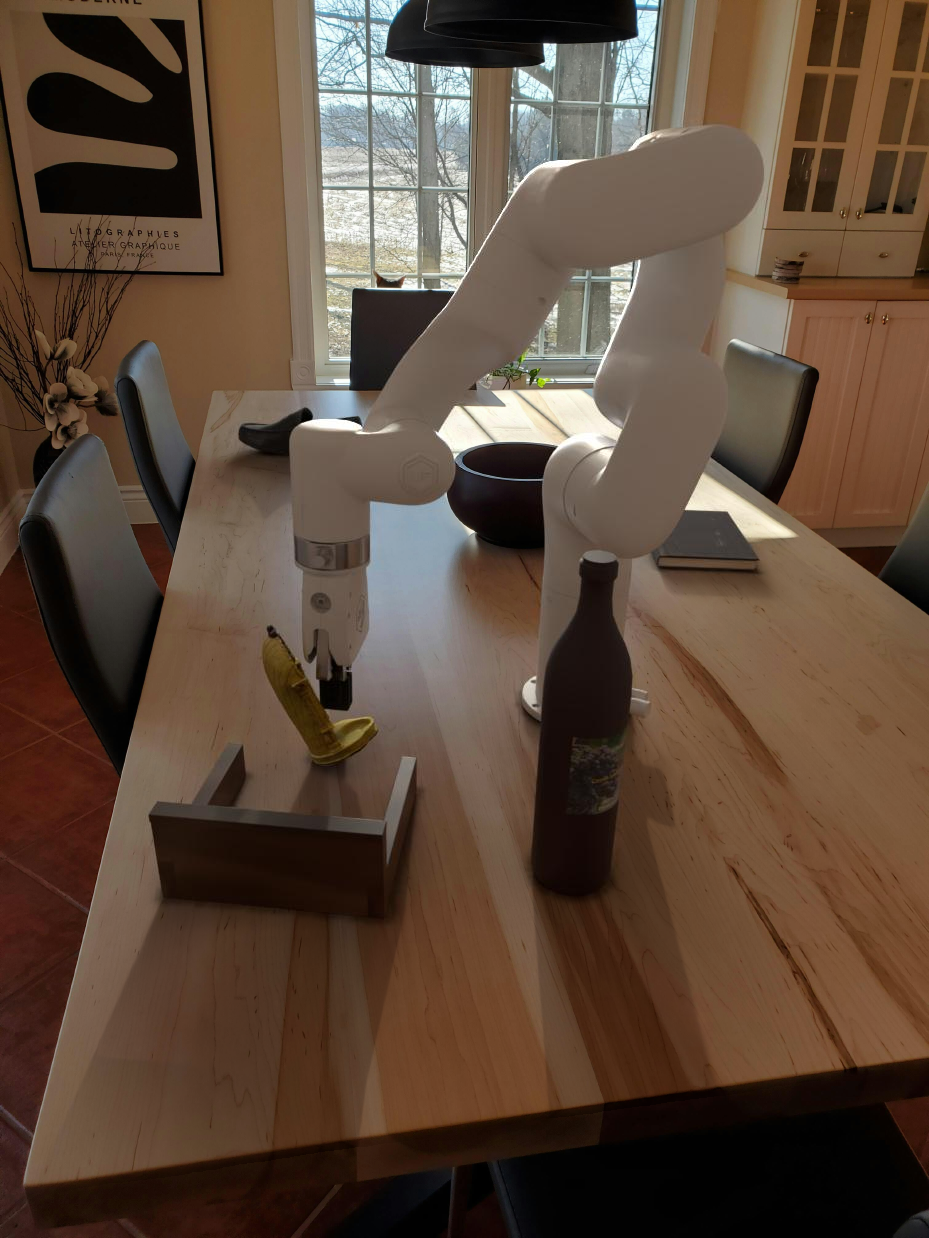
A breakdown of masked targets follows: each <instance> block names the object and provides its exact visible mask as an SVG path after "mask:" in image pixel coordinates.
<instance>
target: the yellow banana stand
mask: <svg viewBox="0 0 929 1238" xmlns="http://www.w3.org/2000/svg"><path fill="white" fill-rule="evenodd" d="M266 632H267V636H266V637H265V639H264V640H263V643H262V649H261V654H262V655H261V659H262V664H263V668H264V669H263V670H264V673H265V675H266V678H267V681H268V682H269V684H270V686H271V688H272V690H273V692H274V694H275V696H276V698H277V700H278V701H279V703H280V705H281V707H282V708H283V710H284V711H285V713H286V714H287V716H288V718H289V719H290V721H291V722H292V724H293V725H294V727H295V728H296V730H297V731H298V733H299V735H300V736H301V739H302V740H303V743H305V744H306V747H307V748H308V754H309V756H310V757H311V760H312V762H314V763H315V764H316V765H317V766H320V767H325V768H326V767H328V766H332V765H336V764H339V763H342V762H343V761H345V760H346V759H349V758H351V757H353V756H355V755H356V754H358V753H359V752H361V751H362V750H363V749H365V747H366V746H367V745H368V744H369V743H370V741H372V740H373V739H374V737H376V736H377V735H378V732H379V726H378V725H376V724H375V721H376V719H375V718H374V717H373V716H364V717H356V718H345V719H343V720H340V721H338V722H336V723H333V722H332V721H331V719H330V715H329V714H328V713H327V711H326V709H324V708H323V707H322V705H321V703H320V698H319V697H318V695H317V693H316V692H315V689H314V687H313V685H312V684H311V682H310V680H309V678H308V677H307V675H306V674H305V669H303V666H302V663H301V660H300V657H296V656H295V655H294V654H293V653H292V651H291V649H290V648H289V646H288V644H287V642H286V640H284V639H283V638H282V637H283V636H281V634H280V633H278V632H277V629H276V627H274V625H272V624H270V625H267V626H266Z"/></svg>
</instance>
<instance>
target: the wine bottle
mask: <svg viewBox="0 0 929 1238" xmlns="http://www.w3.org/2000/svg"><path fill="white" fill-rule="evenodd" d="M616 559H617V557H616V556H615V555H614V554H612V553H610V552H607V551H600V550H594V551H588V552H586V553H584V554H583V558H581V559H580V565H579V575H580V577H581V586H580V596H579V600H578V604H577V609H576V612H575V614H574V615H573V617H572V619H571V620H570V622H569V624H568V625H567V626H566V628H565V629H564V631H563V632H562V633H561V635H560V636H559V637H558V639H557V641H556V643H555V644H554V646H553V648H552V650H551V652H550V655H549V658H548V661H547V664H546V668H545V675H544V683H543V695H542V709H541V721H540V723H539V725H540V726H539V737H538V741H539V742H538V753H537V767H536V778H535V779H536V780H535V795H534V808H533V809H534V810H533V812H534V813H533V821H532V822H533V823H532V836H531V837H532V838H531V851H530V865H531V869H532V873H533V875H534V877H535V878H536V879H537V880H538V882H539V883H541V884H542V885H543V886H544V887H546V888H547V889H549V890H551V891H554V892H556V893H560V894H564V895H574V896H576V895H577V896H578V895H587V894H590V893H592V892H595V891H597V890H599V889H600V888H601V887H602V886H604V885H605V883H606V882H607V880H608V878H609V876H610V873H611V867H612V860H613V853H614V843H615V834H616V827H617V819H618V810H619V802H620V793H621V786H622V777H623V770H624V761H625V752H626V746H627V745H626V743H627V736H628V728H629V720H630V713H629V712H630V704H631V696H632V688H633V677H634V675H633V668H632V659H631V656H630V652H629V650H628V646H627V644H626V641H625V640H624V638H622V636H621V634H620V631H619V629H618V627H617V624H616V621H615V618H614V616H613V600H612V597H613V588H614V580H615V579H616V578H617V576H618V567H619V563H618V561H617V560H616Z"/></svg>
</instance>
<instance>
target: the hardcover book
mask: <svg viewBox="0 0 929 1238" xmlns="http://www.w3.org/2000/svg"><path fill="white" fill-rule="evenodd" d="M651 554H652V556H653V559H654V562H655V563H656V566H657V567H658V569H660V570H663V569H664V570H682V571H683V570H685V571H686V570H687V571H713V572H714V571H715V572H737V573H739V572H741V573H758V569H757V566H756V565H757V562H760V561H761V560H760V558H759V556H758V554H756V552H755V550H754V548H753V547H752V546H751V545H750V543H749V541H748V540H747V539H746V537H745V535H744V533H742V531H741V530H740V528H739V527H738V525H737V524H736V522H735V521H734V519H733V518H732V516H731V515H730V513H729V511H727V510H722V511H721V510H701V509H700V510H698V509H685V510H684V512H683V514H682V516H681V518H680V520H679V522H678V523H677V525H676V527H675V528H674V530H673V531H672V533H671V534H670V535H669V537H668V538H667V539H666V540H665V541H664V542H663V543H662V544H661V545H660V546H659V547H658V548H656V549H655V550H654V551H652V552H651Z"/></svg>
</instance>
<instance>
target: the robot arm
mask: <svg viewBox="0 0 929 1238" xmlns="http://www.w3.org/2000/svg"><path fill="white" fill-rule="evenodd" d="M764 181H765V165H764V158H763V156H762V153H761V151H760V148H759V147H758V145H757V143H756V142H755V141H754V140H753V139H752V138H751V137H750V136H749V135H748V134H747V133H746V132H744V131H743V130H741V129H739V128H738V127H735V126H731V125H729V124H715V123H714V124H705V125H694V126H680V127H679V126H678V127H670V128H664V129H660V130H659V129H658V130H655V131H652V132H649V133H647V134H646V135H643V136H642V137H640V138H639V139H637V140H636V141H635V142H634V143H633V145H632V146H631V147H630V148H629V149H628V150H627V151H623V152H619V153H613V154H609V155H604V156H600V157H599V156H598V157H594V158H589V159H588V158H584V159H563V160H553V161H548V162H545V163H542V164H540V165H538V166H536V167H535V168H533V169H532V170H530V171H529V172H528V173H527V175H525V177H524V178H523V179H522V180H521V181H520V182H519V184H518V186H516V188H515V190H514V192H513V193H512V195H511V197H510V198H509V200H508V201H507V203H506V205H505V207H504V208H503V210H502V212H501V214H500V215H499V217H498V218H497V220H496V222H495V223H494V225H493V227H492V229H491V230H490V232H489V234H488V235H487V237H486V239H485V241H484V242H483V244H482V246H481V247H480V249H479V250H478V252H477V254H476V256H475V258H474V260H473V261H472V263H471V264H470V266H469V268H468V269H467V271H466V273H465V274H464V276H463V277H462V279H461V281H460V283H459V284H458V286H457V288H456V289H455V291H454V293H453V295H452V296H451V298H450V299H449V300H448V302H447V304H446V305H445V306H444V308H443V309H442V310H441V311H440V312H439V313H438V314H437V315H436V317H434V319H433V320H431V322H430V324H429V325H428V326H427V327H426V329H425V330H424V331H423V333H422V334H421V335H420V336H419V337H418V338H417V339H416V340H415V342H414V343H413V344H412V345H411V346H410V348H409V349H408V350H407V351H406V353H404V355H403V356H402V358H401V359H400V361H399V362H398V364H397V365H396V367H394V370H393V372H392V373H391V375H390V376H389V378H388V379H387V381H386V383H385V385H384V386H383V388H382V390H381V391H380V393H379V396H377V399H376V400H375V402H374V404H373V405H372V407H371V409H370V410H369V412H368V414H367V416H366V419H365V420H364V423H363V425H362V427H361V426H360V425H358V424H356V423H353V422H350V421H345V420H336V419H337V418H321V419H312V420H311V421H308V422H304V423H301V424H299V425H298V426H296V427H295V428H294V429H293V431H292V433H291V436H290V440H289V451H290V455H289V467H290V468H289V469H290V471H289V472H290V490H291V491H290V493H291V513H292V516H291V517H292V532H293V535H292V536H293V554H294V555H293V556H294V558H293V560H294V561H293V562H294V565H295V566H296V568H298V569H299V570H300V571H302V581H301V583H302V587H301V640H302V641H301V642H302V653H303V657H304V660H305V661H306V663H308V664H312V663H313V662H314V661H316V663H315V680H317V681H318V688H319V689H318V690H319V701H320V703H321V705H322V707H323V708H324V709H325V710H330V711H341V712H348V711H350V708H351V705H352V704H353V701H354V699H353V671H351V670H352V666H353V663H354V662H355V660H356V658H357V657H358V654H359V653H360V650H361V649H362V647H363V645H364V643H365V641H366V638H367V636H368V633H369V630H370V605H369V589H368V574H367V573H368V572H367V567H369V566H370V564H371V502H373V503H383V504H390V505H398V506H411V507H412V506H415V507H416V506H417V507H418V506H422V505H423V506H424V505H428V504H431V503H433V502H436V501H437V500H439V499H441V498H442V497H443V496H444V495H446V493H448V491H449V490H450V488H451V487H452V486H453V485H452V484H453V483H454V480H455V477H456V458H455V456H454V452H452V451H453V450H452V449H451V447H450V446H449V444H448V443H447V441H446V440H445V439H444V438H443V437H442V435H440V434H439V432H440V430H441V429H442V427H443V425H444V424H445V422H446V420H447V419H448V418H449V416H450V415H451V412H452V411H453V410H454V408H455V406H456V405H457V404H458V402H459V401H460V400H461V398H462V397H463V396H464V395H465V394H466V393H467V391H469V389H471V388H472V387H473V386H474V385H475V384H476V383H477V382H479V380H481V379H482V378H484V377H485V376H487V375H489V374H491V373H493V372H496V371H498V370H500V369H502V368H505V367H506V366H509V365H510V364H512V363H514V362H515V361H517V360H518V359H520V358H521V357H522V356H523V355H525V353H526V352H527V351H528V350H529V348H530V346H531V345H532V344H533V342H534V340H535V338H536V337H537V335H538V333H539V332H540V330H541V328H542V327H543V325H544V323H545V322H546V321H547V318H548V316H549V315H550V314H551V312H552V311H553V310H554V308H555V305H556V304H557V303H558V301H559V299H560V298H561V296H562V295H563V293H564V291H565V290H566V288H567V287H568V285H569V284H570V282H571V281H572V279H573V278H574V276H575V274H576V273H577V271H578V270H579V271H599V270H600V271H601V270H604V269H610V268H614V267H619V266H623V265H626V264H631V263H634V262H638V265H637V270H636V275H635V278H634V282H633V285H632V288H631V291H630V293H629V295H628V299H627V301H626V304H625V306H624V309H623V311H622V312H621V315H620V318H619V321H618V323H617V324H616V328H615V330H614V332H613V334H612V337H611V339H610V341H609V344H608V346H607V348H606V351H605V352H604V355H603V357H602V359H601V361H600V364H599V366H598V369H597V372H596V375H595V378H594V380H593V386H592V387H593V388H592V396H593V400H594V405H595V406H596V408H597V410H598V412H599V413H600V414H601V416H603V418H605V419H606V420H607V421H609V422H610V423H611V424H613V425H614V426H616V427H617V428H618V429H620V433H619V436H618V438H617V440H616V439H614V438H613V437H610V436H607V435H604V434H599V433H589V432H588V433H581V434H578V435H574V436H571V437H569V438H568V439H566V440H564V441H563V442H562V443H561V444H559V445H558V446H557V447H556V448H555V450H553V452H552V454H551V455H550V456H549V459H548V460H547V462H546V465H545V468H544V473H543V476H542V478H543V479H542V485H541V486H542V488H541V489H542V490H541V496H542V498H541V499H542V513H543V527H544V555H543V556H544V559H543V574H542V586H541V599H540V615H539V628H538V629H539V631H538V642H537V643H538V645H537V660H536V673H535V674H536V675H534V676H533V677H531V678H530V679H529V680H527V681H526V682H525V683H524V685H523V686H522V690H521V703H522V706H523V708H524V709H525V711H526V712H527V713H528V715H530V716H531V717H533V718H534V719H535V720H537V721H539V722H541V709H542V695H543V683H544V675H545V668H546V664H547V661H548V658H549V655H550V652H551V650H552V648H553V646H554V644H555V643H556V641H557V639H558V637H559V636H560V635H561V633H562V632H563V631H564V629H565V628H566V626H567V625H568V624H569V622H570V620H571V619H572V617H573V615H574V614H575V612H576V609H577V604H578V600H579V596H580V586H581V577H580V575H579V565H580V559H581V558H583V554H584V553H586V552H588V551H594V550H600V551H607V552H610V553H612V554H614V555H615V556H616V557H617V559H616V560H617V561H618V563H619V567H618V576H617V578H616V579H615V580H614V588H613V597H612V600H613V616H614V618H615V621H616V624H617V627H618V629H619V631H620V634H621V636H622V638H623V639H625V638H624V637H625V628H626V619H627V613H628V611H627V610H628V603H629V593H630V588H631V580H632V570H633V560H634V559H637V558H641V557H644V556H646V555H649V554H650V553H652V551H654V550H655V549H656V548H658V547H659V546H660V545H661V544H662V543H663V542H664V541H665V540H666V539H667V538H668V537H669V535H670V534H671V533H672V531H673V530H674V528H675V527H676V525H677V523H678V522H679V520H680V518H681V516H682V514H683V512H684V510H686V508H687V506H688V505H689V502H690V500H691V498H692V497H693V494H694V492H695V490H696V487H697V485H698V484H699V482H700V480H701V478H702V476H703V473H704V471H705V469H706V467H707V465H708V463H709V461H710V459H711V457H712V454H713V452H714V451H715V449H716V446H717V444H718V442H719V439H720V437H721V435H722V433H723V430H724V427H725V425H726V420H727V417H728V411H729V403H730V393H729V385H728V382H727V378H726V375H725V373H724V371H723V369H722V368H721V366H719V364H718V362H717V361H716V360H714V359H713V358H712V357H711V356H709V355H708V354H706V353H704V352H703V351H702V349H703V346H704V344H705V341H706V339H707V337H708V334H709V331H710V329H711V326H712V323H713V321H714V318H715V316H716V313H717V311H718V309H719V305H720V304H721V300H722V297H723V293H724V289H725V284H726V276H727V257H726V256H727V255H726V247H725V240H724V236H723V234H726V233H727V232H729V231H731V230H733V229H734V228H735V227H737V226H738V225H740V224H741V222H743V221H744V220H745V219H746V218H747V217H748V216H749V214H750V213H751V212H752V211H753V209H754V207H755V206H756V204H757V202H758V201H759V198H760V196H761V193H762V191H763V186H764ZM315 659H316V660H315ZM648 698H649V692H648V691H645V690H642V689H640V688H634V687H632V696H631V704H630V712H629V715H632V716H636V717H638V718H642V719H644V720H646V719H647V718H648V717H649V715H650V713H651V709H652V702H650V701H649V699H648Z"/></svg>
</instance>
